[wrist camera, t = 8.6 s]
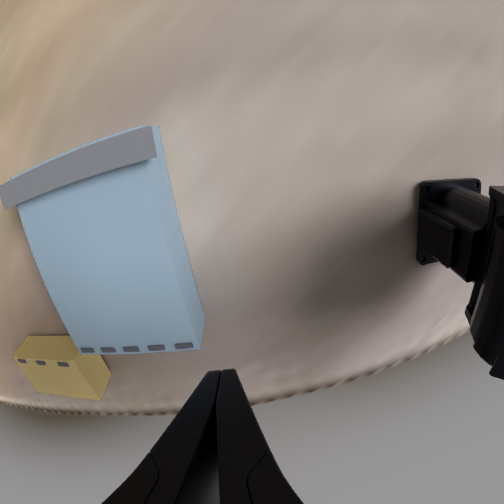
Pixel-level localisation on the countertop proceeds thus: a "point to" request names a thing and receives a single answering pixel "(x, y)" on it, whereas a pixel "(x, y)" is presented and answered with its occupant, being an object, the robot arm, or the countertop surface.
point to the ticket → (111, 245)
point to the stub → (62, 367)
